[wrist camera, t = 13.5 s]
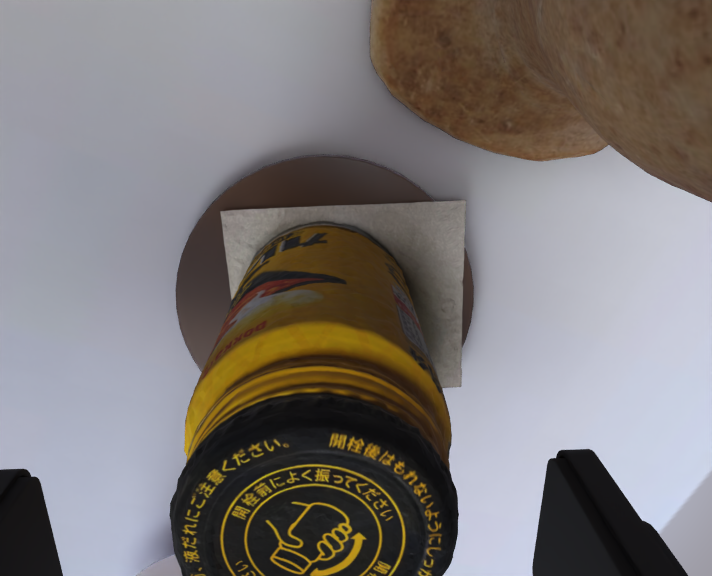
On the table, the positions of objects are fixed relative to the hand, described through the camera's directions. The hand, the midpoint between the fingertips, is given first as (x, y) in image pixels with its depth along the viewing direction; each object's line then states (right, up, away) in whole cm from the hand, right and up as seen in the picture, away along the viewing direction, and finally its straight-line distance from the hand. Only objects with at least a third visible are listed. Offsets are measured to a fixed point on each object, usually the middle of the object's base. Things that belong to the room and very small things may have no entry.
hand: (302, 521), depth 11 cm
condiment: (+1, +4, +11) cm, 12 cm away
